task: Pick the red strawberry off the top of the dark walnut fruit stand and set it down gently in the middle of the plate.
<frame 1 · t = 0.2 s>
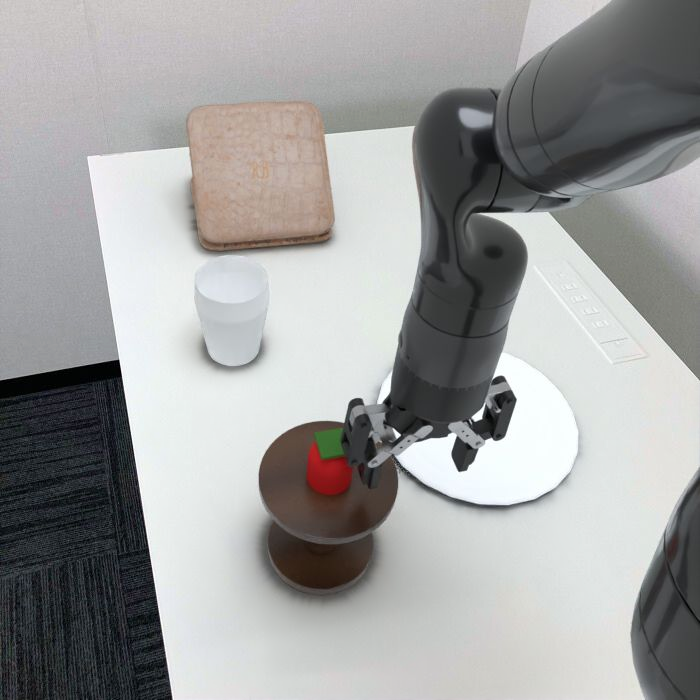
hand: (414, 471, 66), 16 cm above the table, tool pointing down, fingers open, 8 cm apart
plate: (475, 423, 91), on the table
strawberry: (329, 475, 68), point 13 cm above the table, touching fruit stand
fruit stand: (320, 545, 78), on the table
cup: (233, 349, 96), on the table
case: (259, 211, 117), on the table
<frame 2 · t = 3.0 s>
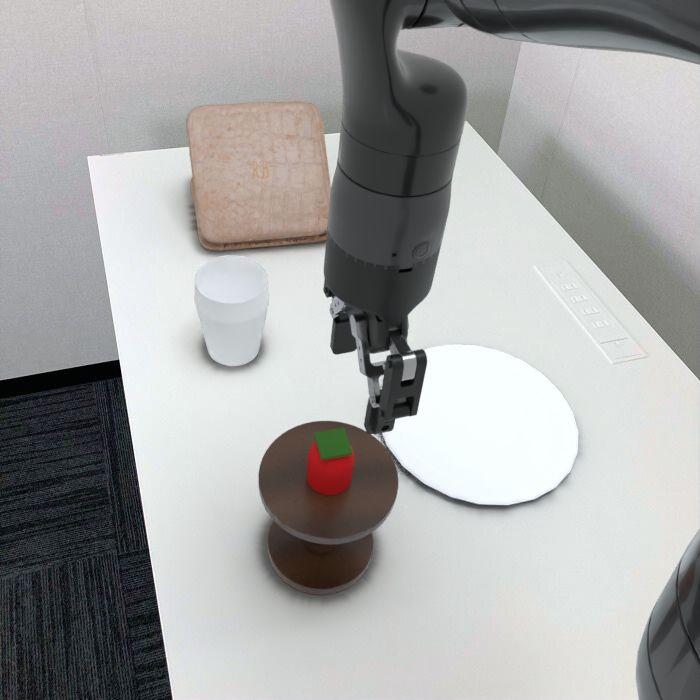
hand: (360, 388, 59), 26 cm above the table, tool pointing down, fingers open, 8 cm apart
nothing on the table moved.
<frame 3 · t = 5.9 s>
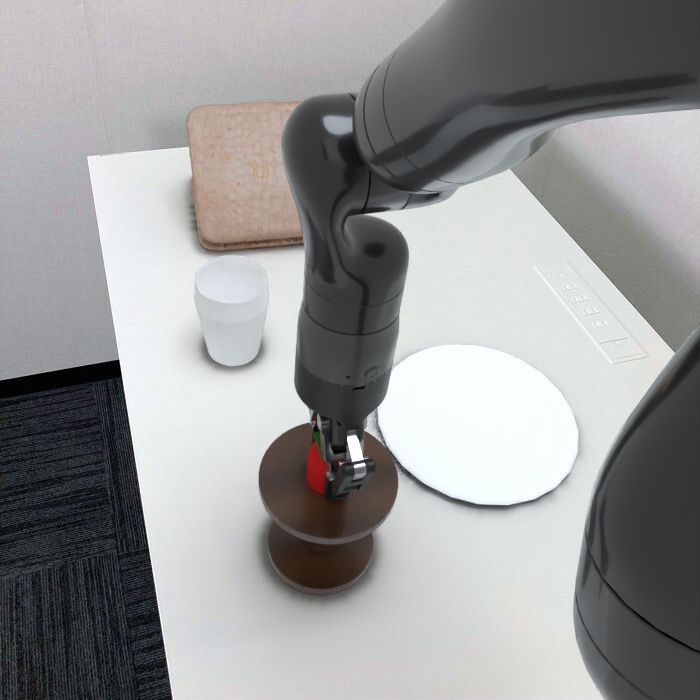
hand: (329, 473, 68), 13 cm above the table, tool pointing down, fingers closed on strawberry, 4 cm apart
strawberry: (329, 475, 68), point 13 cm above the table, touching fruit stand, gripper
everything else where it was.
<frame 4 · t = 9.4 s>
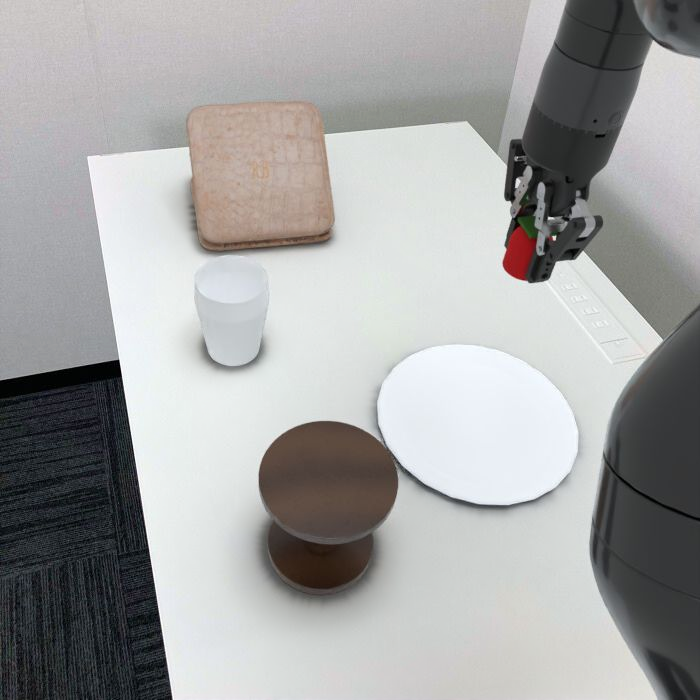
hand: (525, 263, 72), 26 cm above the table, tool pointing down, fingers closed on strawberry, 4 cm apart
strawberry: (523, 267, 73), point 25 cm above the table, touching gripper
everything else where it was.
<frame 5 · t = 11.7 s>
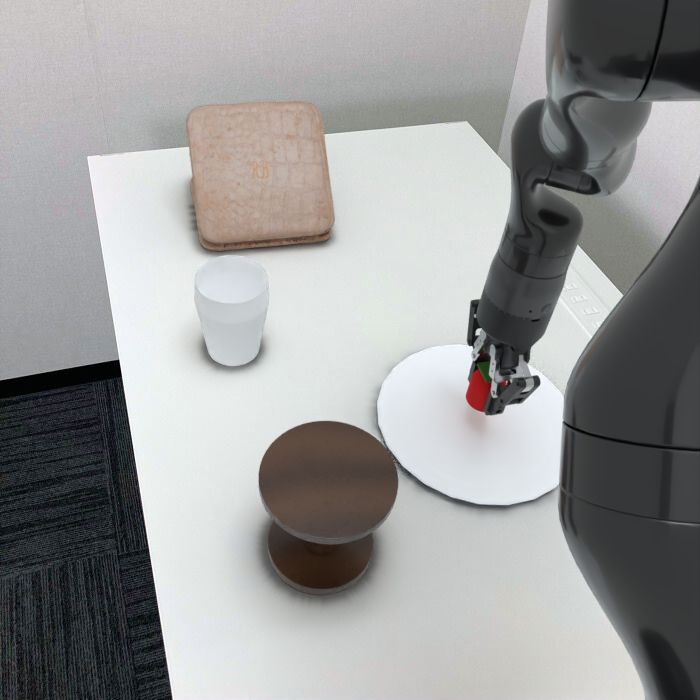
hand: (484, 396, 88), 5 cm above the table, tool pointing down, fingers closed on strawberry, 4 cm apart
strawberry: (483, 399, 88), point 4 cm above the table, touching gripper
everything else where it was.
when the fingers open (2 cm above the table, at t = 13.0 s): strawberry stays where it is, resting on plate.
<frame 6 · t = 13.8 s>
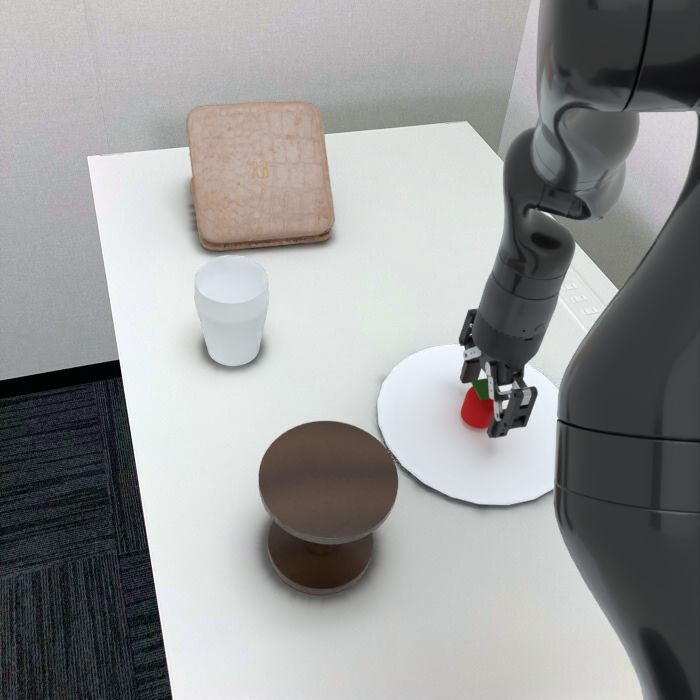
hand: (481, 407, 89), 3 cm above the table, tool pointing down, fingers open, 8 cm apart
plate: (475, 423, 91), on the table, touching strawberry
strawberry: (477, 415, 90), point 1 cm above the table, touching plate
everything else where it was.
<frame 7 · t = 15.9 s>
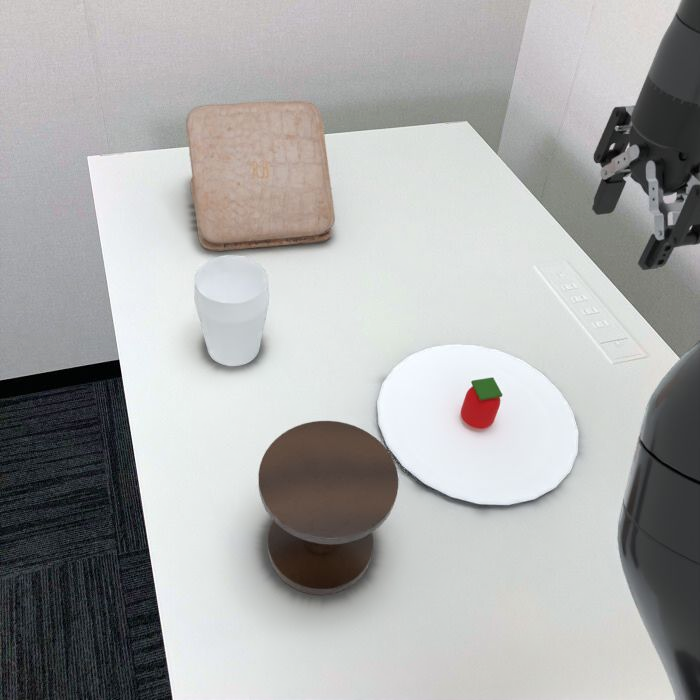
hand: (624, 238, 71), 29 cm above the table, tool pointing down, fingers open, 8 cm apart
nothing on the table moved.
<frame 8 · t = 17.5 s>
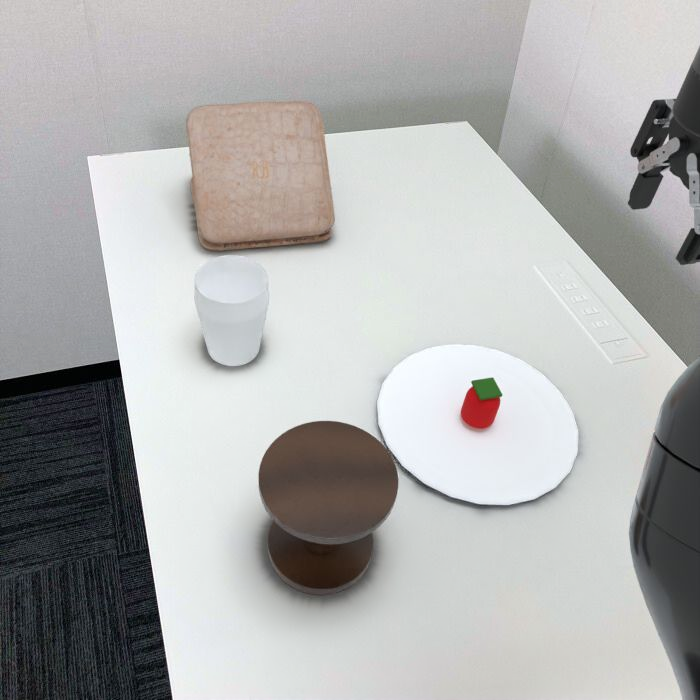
hand: (661, 233, 70), 30 cm above the table, tool pointing down, fingers open, 8 cm apart
nothing on the table moved.
at the end: strawberry inside the target area on the plate (0.1 cm from its centre), point 1.5 cm above the plate's base; the gripper is holding nothing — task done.
